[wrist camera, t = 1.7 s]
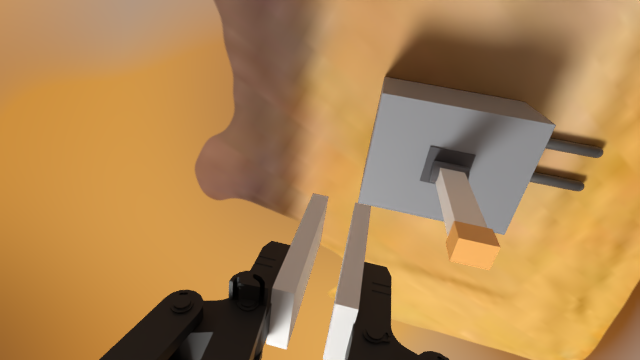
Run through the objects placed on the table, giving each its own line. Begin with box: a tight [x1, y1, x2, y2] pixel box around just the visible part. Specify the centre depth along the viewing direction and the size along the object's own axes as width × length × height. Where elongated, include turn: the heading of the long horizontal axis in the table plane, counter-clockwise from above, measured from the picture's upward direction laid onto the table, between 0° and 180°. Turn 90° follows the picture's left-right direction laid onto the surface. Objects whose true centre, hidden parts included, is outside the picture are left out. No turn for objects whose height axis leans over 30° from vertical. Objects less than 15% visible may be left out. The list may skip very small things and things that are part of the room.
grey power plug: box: [358, 77, 603, 235], centre depth 44 cm, size 29×14×10 cm, turn 82°
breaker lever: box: [429, 161, 500, 270], centre depth 33 cm, size 4×2×15 cm, turn 82°
